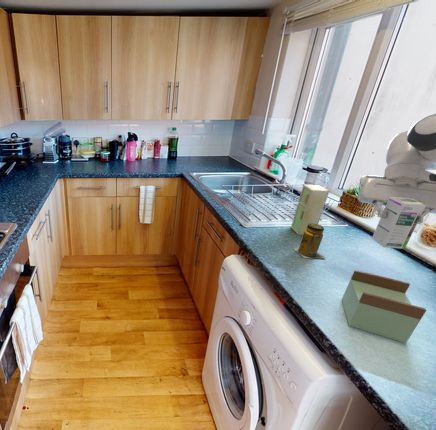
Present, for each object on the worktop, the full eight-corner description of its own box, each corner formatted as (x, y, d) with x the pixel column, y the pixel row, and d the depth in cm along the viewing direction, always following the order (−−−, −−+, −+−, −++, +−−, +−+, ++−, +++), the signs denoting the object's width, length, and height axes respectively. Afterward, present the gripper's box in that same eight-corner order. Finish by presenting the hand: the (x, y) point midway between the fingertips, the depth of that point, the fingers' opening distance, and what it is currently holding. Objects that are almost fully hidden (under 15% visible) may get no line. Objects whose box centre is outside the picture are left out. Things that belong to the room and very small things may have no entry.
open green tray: (392, 313, 82) (409, 282, 78) (406, 343, 73) (426, 310, 68) (341, 299, 88) (354, 269, 83) (348, 325, 78) (363, 293, 73)
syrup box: (383, 247, 86) (404, 202, 80) (370, 238, 91) (389, 195, 85) (404, 249, 85) (428, 204, 79) (390, 239, 90) (411, 196, 84)
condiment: (293, 248, 115) (301, 221, 110) (314, 249, 115) (323, 222, 110) (303, 258, 108) (313, 230, 103) (326, 259, 108) (337, 231, 103)
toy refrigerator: (288, 227, 132) (301, 183, 124) (305, 228, 131) (320, 185, 123) (296, 235, 125) (310, 190, 116) (314, 236, 124) (330, 191, 116)
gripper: (365, 169, 89) (360, 208, 86) (456, 179, 80) (454, 223, 77) (357, 179, 95) (351, 216, 91) (441, 189, 86) (439, 231, 82)
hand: (399, 219), depth 84 cm, fingers closed on syrup box, 7 cm apart
